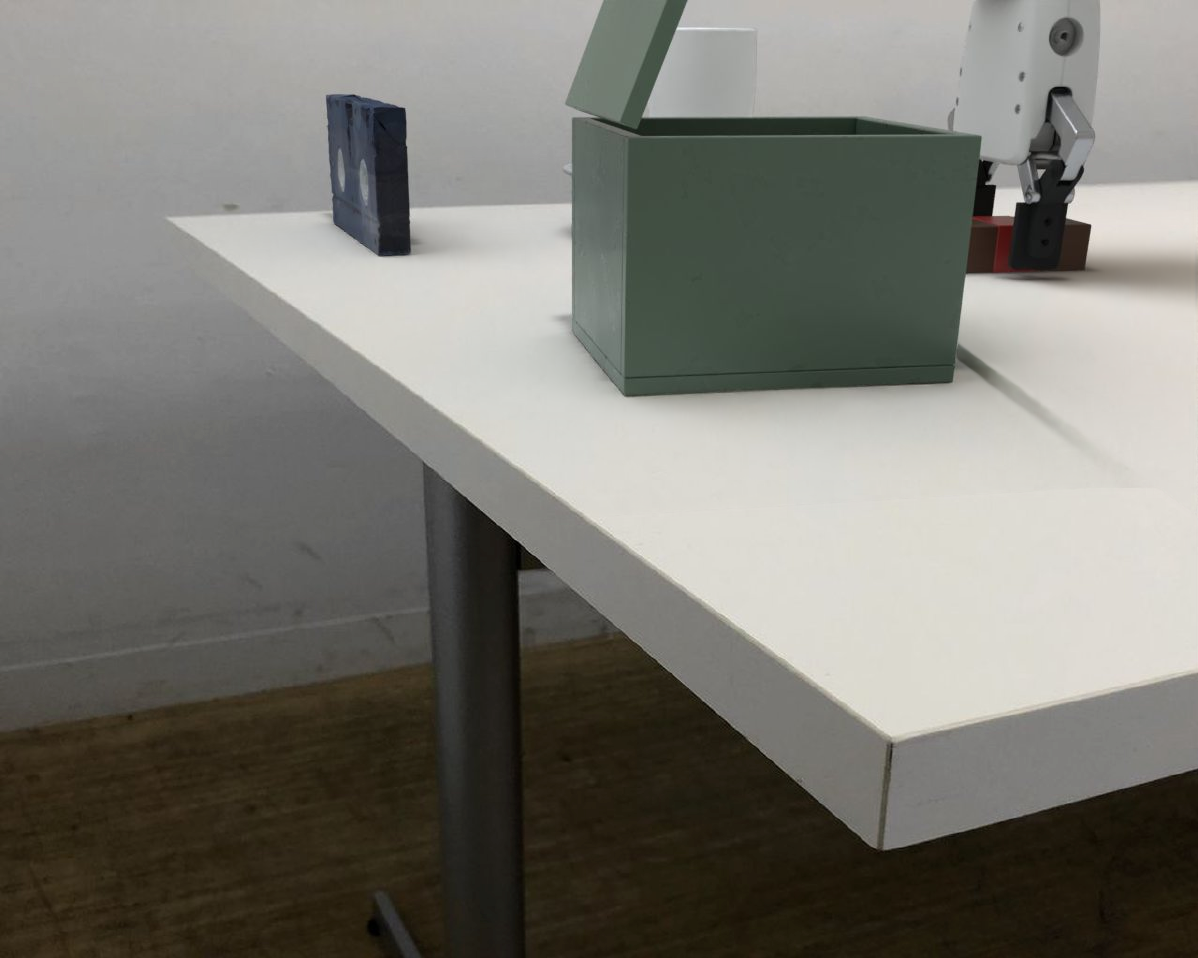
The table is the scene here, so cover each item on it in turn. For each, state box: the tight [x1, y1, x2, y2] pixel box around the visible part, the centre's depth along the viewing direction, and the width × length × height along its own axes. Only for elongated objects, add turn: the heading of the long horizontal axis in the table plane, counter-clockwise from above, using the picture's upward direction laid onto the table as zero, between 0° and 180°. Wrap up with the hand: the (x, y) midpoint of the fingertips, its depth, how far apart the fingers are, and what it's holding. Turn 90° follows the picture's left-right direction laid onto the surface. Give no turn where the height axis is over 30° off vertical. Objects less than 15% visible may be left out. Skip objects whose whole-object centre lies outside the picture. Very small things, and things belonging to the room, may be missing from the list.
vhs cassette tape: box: [325, 93, 412, 256], centre depth 99 cm, size 18×3×10 cm, turn 19°
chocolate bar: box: [966, 215, 1092, 274], centre depth 85 cm, size 10×4×4 cm, turn 101°
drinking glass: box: [647, 26, 758, 117], centre depth 83 cm, size 7×7×15 cm
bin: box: [571, 115, 982, 397], centre depth 63 cm, size 16×14×11 cm
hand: (997, 256), depth 86 cm, fingers open, 9 cm apart
